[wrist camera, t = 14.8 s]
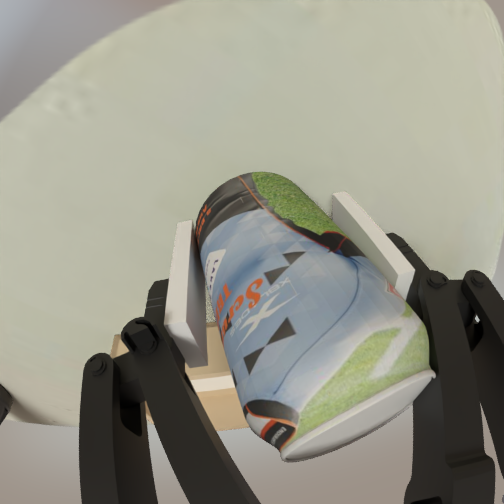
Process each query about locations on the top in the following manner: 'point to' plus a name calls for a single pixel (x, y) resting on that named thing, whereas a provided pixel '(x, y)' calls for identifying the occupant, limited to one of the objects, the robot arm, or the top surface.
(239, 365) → the beverage can
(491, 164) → the top surface
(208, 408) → the box
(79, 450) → the robot arm
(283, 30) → the top surface
